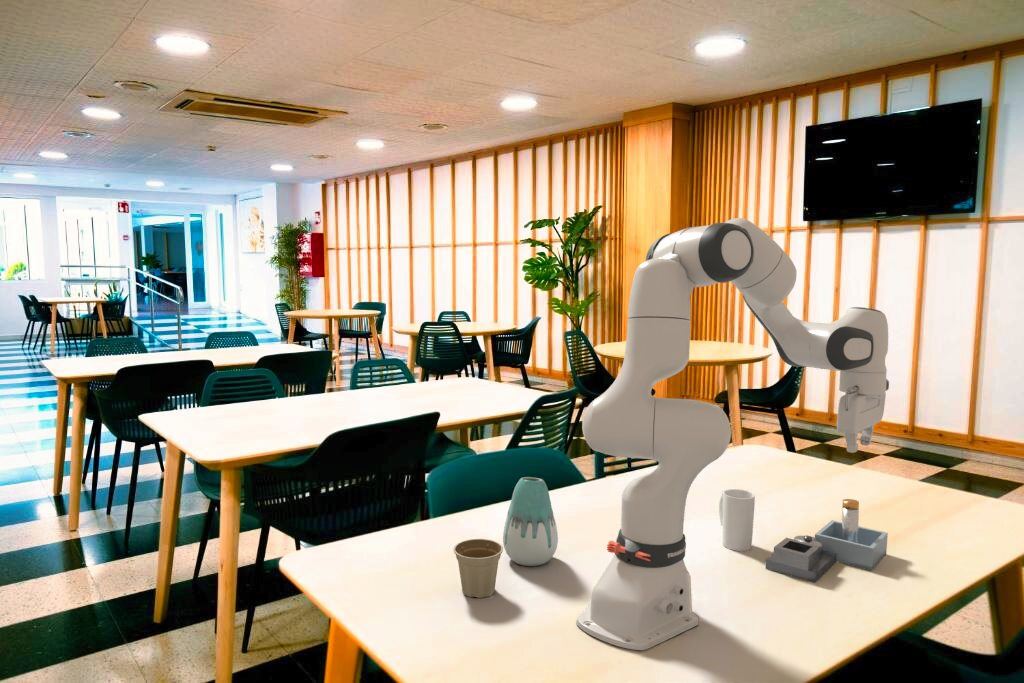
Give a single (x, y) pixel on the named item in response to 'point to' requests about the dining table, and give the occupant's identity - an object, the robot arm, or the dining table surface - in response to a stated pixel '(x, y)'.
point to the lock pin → (850, 520)
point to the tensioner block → (801, 558)
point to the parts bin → (854, 545)
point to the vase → (530, 524)
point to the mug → (737, 518)
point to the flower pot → (478, 566)
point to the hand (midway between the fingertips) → (858, 448)
